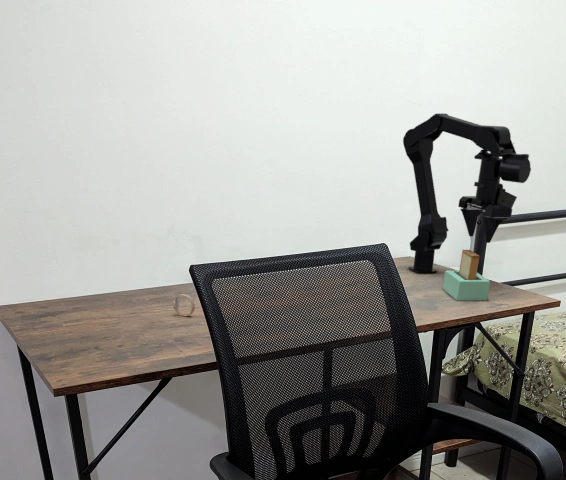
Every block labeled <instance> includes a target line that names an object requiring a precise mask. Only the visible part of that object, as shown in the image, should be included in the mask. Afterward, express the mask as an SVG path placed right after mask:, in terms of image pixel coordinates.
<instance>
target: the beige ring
mask: <svg viewBox="0 0 566 480" xmlns="http://www.w3.org/2000/svg"><path fill="white" fill-rule="evenodd" d="M179 297H185V298H187V299H188V301H189V302H190V305H191V310H190V312H189V313H188V314H186V313H183V312H182V311H181V310H180V309H179V307H180V300H179ZM172 303H173V304H172V307H173V310H174V312H176V313H177V315H179V316H181V317H189V316H191V315H192V314H193V313H194V311H195V309H196V304H195V301H194V299H193V297H191V296H190V295H189V294H187V293H181V294H179V295H177V296H176V297H175V298H174V300H173V302H172Z"/></svg>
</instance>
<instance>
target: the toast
mask: <svg viewBox="0 0 566 480" xmlns="http://www.w3.org/2000/svg"><path fill="white" fill-rule="evenodd" d="M480 257H481V255H479V254H477V253H476V252H474V251H472V250H471V249H462V252H461V257H460V263H459V270H458V271H459V274H461V275H462V276H463V277H465V278H466V279H467V280H476V275H477V273H478V269H479V261H480Z"/></svg>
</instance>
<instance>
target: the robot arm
mask: <svg viewBox="0 0 566 480" xmlns="http://www.w3.org/2000/svg"><path fill="white" fill-rule="evenodd" d="M443 132H444V133H447V134H449V135H454V136H456V137H459V138H463V139H466V140H469V141H471V142H473V143H474V144H475V145H476V146H477V147H478V148H480V149H481V150H480V151H479V152H478V153H477V154H475V155H474V157H473V158H474V159H475V160H480V167H479V172H478V178H477V181H474V184H473V186H474V187H476V192H475V195H463V196H461V197H460V198H459V200H458V205H457V207H458V208H460V209H459V210H460V211H461V214H462V216H463V219H464V223H465V225H466V226H465V227H466V231H467V234H468V236H469V237H474V235H475V232H476V229H477V224H478V220H479V216H481V214H482V213H483V212H484V214H485V216H483V226H484V239H485V243H486V244H490V243H491V241H492V239H493V237H494V236H495V234H496V232H497V229H498V227H499V226H500V224H501V223H503V222H504V221H506V220H507V221H508V219H509V218H511V217H512V214H513V207H514V204H515V203H516V200H517V196H516V195H514V194H512V193H510V192H508V191H506V188H504V183H500V182H501V180H502V181H503V182H512V183H519V184H524V183H526V182H527V181H528V179H529V177H530V175H531V171H532V167H531V161H530V160H529V158H530V154H528V153H517V151H516V149H515V146H514V143H513V141H512V139H511V138H512V136H511V132H510V129H509V128H508V127H507V126H503V125H502V126H501V125H483V124H482V125H481V124H479V123H475V122H472V121H468V120H465V119H462V118H459V117H458V118H457V117H455V116H452V115H449V114H448V113H434V114H433V115H432V116H430V117H429V118H428V119H426V120H425V121H423V122H421V123H419V124H418V125H416V126H415V127H414V128H409V129H408V130H407V131H406V132H405V134H404V136H403V138H402V144H403V147H404V151H405V154H406V156H407V158H408V160H409V161H410V162H411V164H412V167H413V174H414V180H415V187H416V191H417V192H416V193H417V199H418V206H419V213H420V218H419V222H418V225H417V235H416V236H415V237H414V238H413V239H412V240H411V241H410V242H409V248H410V251H413V252H414V260H413V266H408V269H409V270H411V271H413V272H415V273H416V274H430V273H431V274H432V273H437V272H438V271H437V270H436V269H434V260H435V253H436V252H435V251H437V250H440V249H441V247H442V246H443V243H444V242H445V241H446V239H447V238H448V232H449V228H448V224H447V221H448V220H447V217H446V216H441V215H440V214H439V211H438V204H437V199H436V191H435V185H434V178H433V170H432V164H431V158H432V155H433V151H434V142H435V141H437V140H438V139H439V138H440V136H441V135H442V134H443Z"/></svg>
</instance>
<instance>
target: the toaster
mask: <svg viewBox="0 0 566 480" xmlns="http://www.w3.org/2000/svg"><path fill="white" fill-rule="evenodd" d="M443 277H444V278H443V285H442V286H443V287H442V290H444V291H445V292H446V293H447V294H448V295H450V297H452V298H453V299H454V300H455V301H488V296H489V291H490V286H491V281H490V280H489V279H487V278H486V277H485V276H483V275H481V274H480V273H479V272H477V275H476V280H467V279H466V278H465V277H463V276H462V275H461V274H459V270H445V271H444V276H443Z"/></svg>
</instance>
